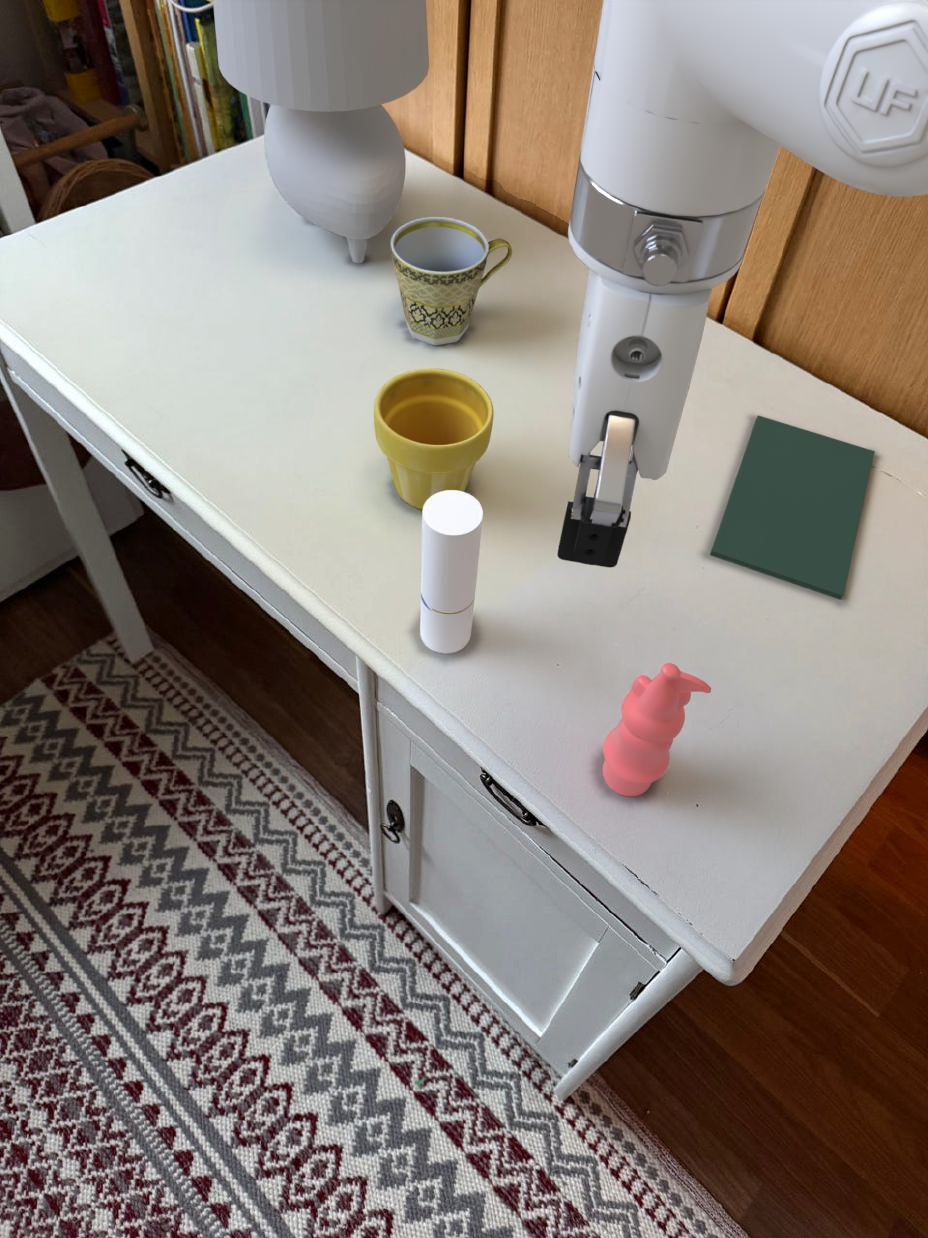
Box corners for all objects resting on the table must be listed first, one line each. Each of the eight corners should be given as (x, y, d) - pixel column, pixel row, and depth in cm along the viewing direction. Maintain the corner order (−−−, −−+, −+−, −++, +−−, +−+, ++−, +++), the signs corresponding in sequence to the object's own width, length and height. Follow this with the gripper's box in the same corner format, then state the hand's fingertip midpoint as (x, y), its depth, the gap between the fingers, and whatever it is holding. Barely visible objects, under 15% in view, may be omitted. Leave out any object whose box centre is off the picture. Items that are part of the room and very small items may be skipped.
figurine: (666, 752, 71) (721, 645, 59) (657, 811, 68) (712, 711, 56) (602, 734, 71) (643, 625, 59) (590, 792, 68) (630, 690, 56)
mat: (872, 455, 92) (874, 450, 91) (840, 599, 81) (843, 595, 80) (756, 419, 94) (757, 414, 93) (709, 555, 83) (711, 550, 82)
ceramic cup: (406, 363, 96) (406, 279, 88) (380, 306, 101) (378, 223, 93) (520, 342, 99) (531, 260, 91) (489, 288, 104) (496, 206, 96)
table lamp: (459, 266, 106) (482, -173, 74) (283, 307, 100) (223, -152, 68) (384, 169, 118) (376, -248, 85) (222, 200, 112) (146, -236, 79)
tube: (480, 626, 77) (494, 506, 65) (453, 662, 75) (462, 544, 62) (438, 603, 78) (443, 481, 66) (410, 637, 76) (410, 517, 64)
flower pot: (476, 442, 90) (483, 362, 82) (494, 521, 84) (503, 443, 76) (371, 450, 88) (368, 369, 80) (382, 530, 82) (380, 452, 74)
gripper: (756, 354, 32) (652, 628, 46) (750, 121, 42) (666, 404, 56) (548, 323, 33) (507, 603, 47) (591, 100, 43) (547, 385, 57)
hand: (594, 494), depth 52 cm, fingers open, 9 cm apart
